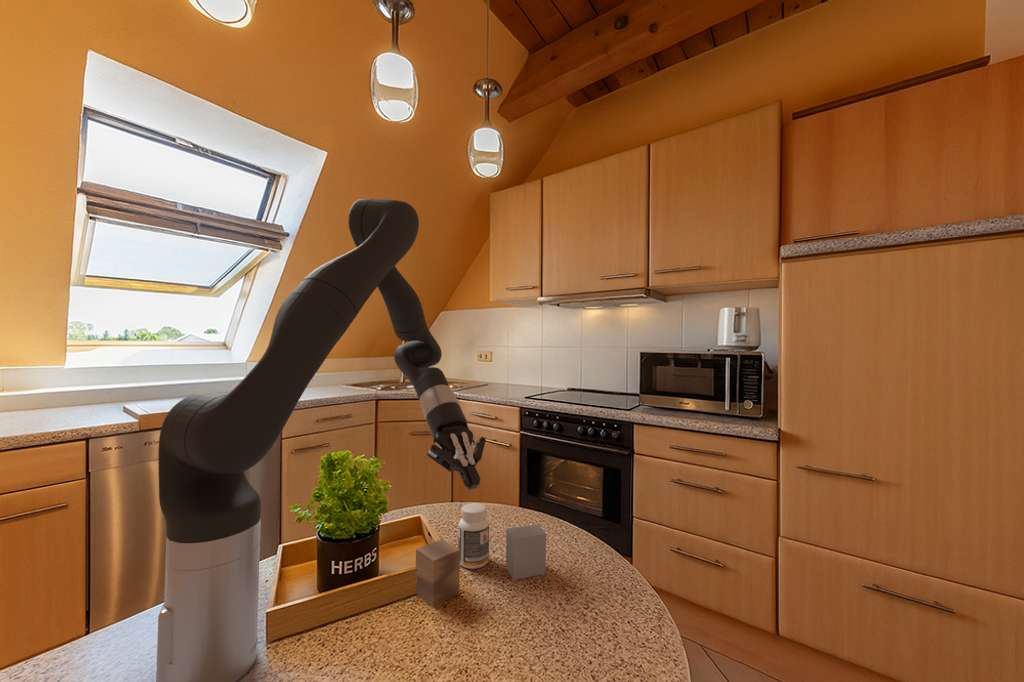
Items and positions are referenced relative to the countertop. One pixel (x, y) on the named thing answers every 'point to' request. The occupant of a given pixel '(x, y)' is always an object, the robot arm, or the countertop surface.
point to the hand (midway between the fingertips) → (474, 486)
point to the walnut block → (437, 572)
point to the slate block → (525, 551)
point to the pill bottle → (473, 536)
